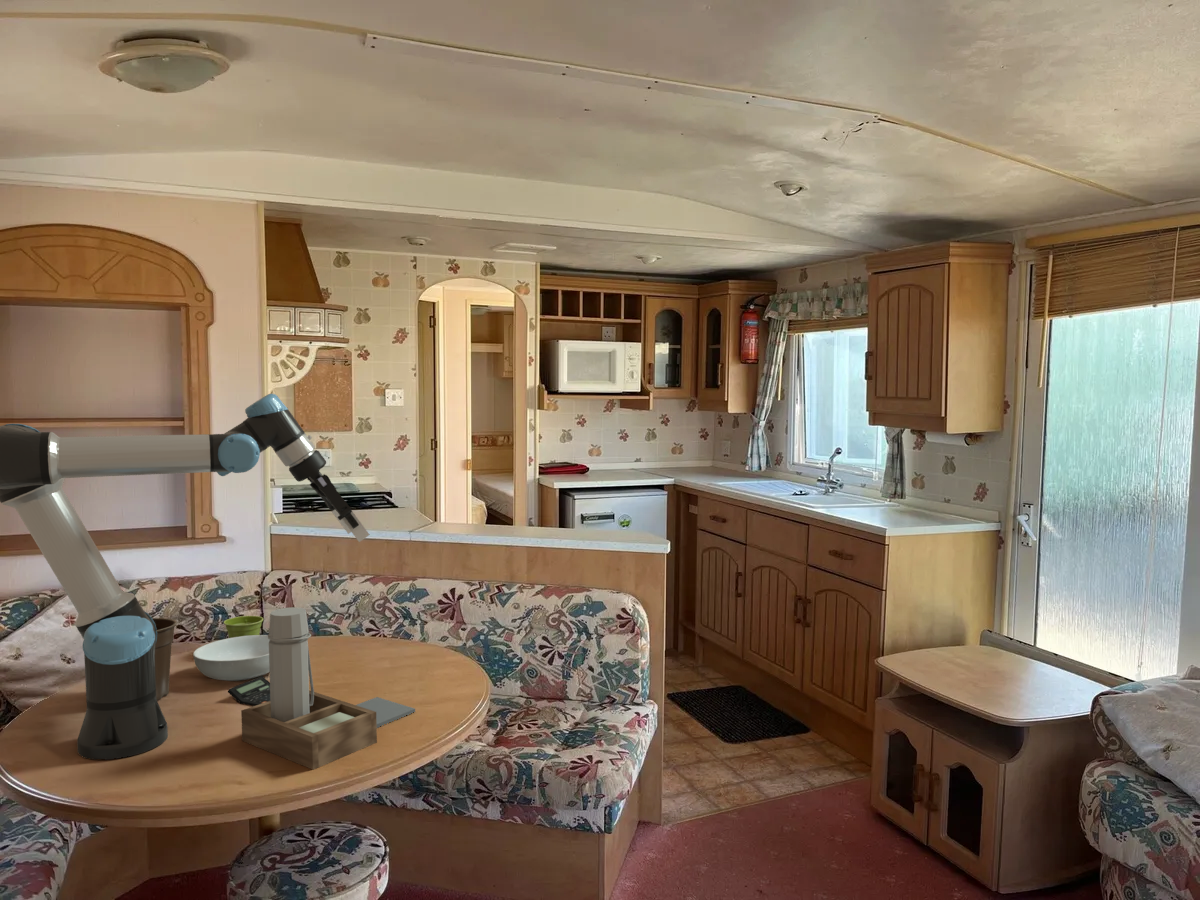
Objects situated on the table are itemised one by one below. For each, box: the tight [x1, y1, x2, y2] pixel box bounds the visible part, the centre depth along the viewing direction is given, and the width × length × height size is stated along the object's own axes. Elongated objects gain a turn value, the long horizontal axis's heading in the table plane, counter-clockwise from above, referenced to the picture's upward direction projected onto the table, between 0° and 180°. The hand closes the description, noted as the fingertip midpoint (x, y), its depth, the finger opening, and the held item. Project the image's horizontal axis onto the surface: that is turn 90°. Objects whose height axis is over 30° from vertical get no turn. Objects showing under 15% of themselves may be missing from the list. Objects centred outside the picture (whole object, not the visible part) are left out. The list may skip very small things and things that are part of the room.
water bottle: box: [267, 606, 315, 722], centre depth 166 cm, size 9×8×25 cm
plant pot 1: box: [151, 617, 177, 701], centre depth 188 cm, size 16×16×16 cm
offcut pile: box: [299, 712, 354, 733], centre depth 160 cm, size 10×5×5 cm, turn 145°
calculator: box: [227, 675, 271, 707], centre depth 188 cm, size 9×12×3 cm
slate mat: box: [355, 696, 416, 729], centre depth 177 cm, size 12×12×1 cm
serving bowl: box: [192, 634, 270, 682], centre depth 203 cm, size 21×21×7 cm
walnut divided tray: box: [240, 689, 378, 771], centre depth 164 cm, size 14×22×6 cm, turn 55°
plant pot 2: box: [223, 615, 264, 638], centre depth 220 cm, size 9×9×9 cm
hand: (358, 534), depth 194 cm, fingers open, 13 cm apart
